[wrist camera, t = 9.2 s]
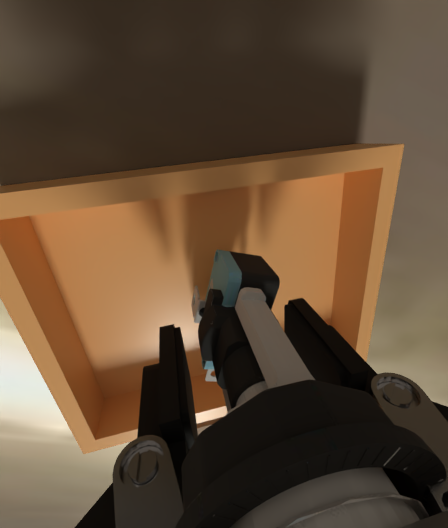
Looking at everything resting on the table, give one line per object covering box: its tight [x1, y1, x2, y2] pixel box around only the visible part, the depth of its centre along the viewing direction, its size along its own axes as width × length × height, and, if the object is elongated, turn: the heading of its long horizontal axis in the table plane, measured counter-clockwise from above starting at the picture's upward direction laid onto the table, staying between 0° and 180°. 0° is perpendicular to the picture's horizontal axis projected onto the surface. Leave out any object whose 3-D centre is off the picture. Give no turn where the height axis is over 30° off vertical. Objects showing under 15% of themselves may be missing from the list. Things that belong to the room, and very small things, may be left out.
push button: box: [175, 249, 447, 528], centre depth 9 cm, size 7×5×10 cm
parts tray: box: [0, 144, 404, 454], centre depth 14 cm, size 16×13×3 cm
